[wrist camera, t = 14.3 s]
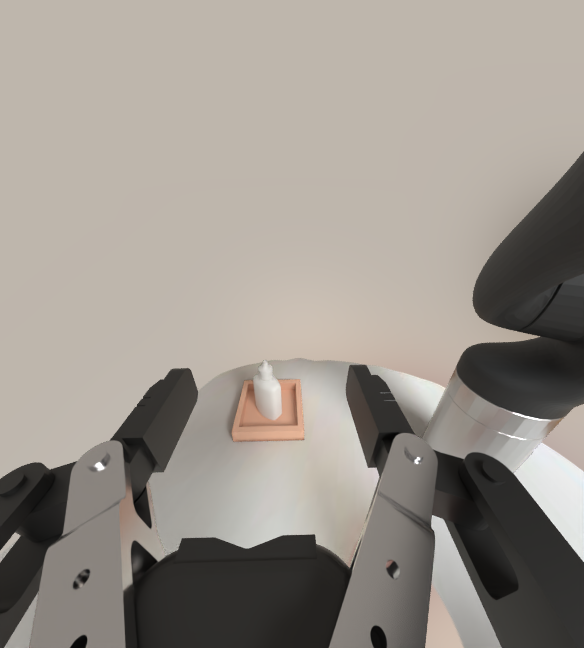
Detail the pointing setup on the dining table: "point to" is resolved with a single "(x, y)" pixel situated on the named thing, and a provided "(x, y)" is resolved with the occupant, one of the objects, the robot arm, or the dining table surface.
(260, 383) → the eye dropper bottle
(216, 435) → the dining table surface
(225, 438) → the dining table surface
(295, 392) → the terracotta caddy
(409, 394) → the dining table surface
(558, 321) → the robot arm
